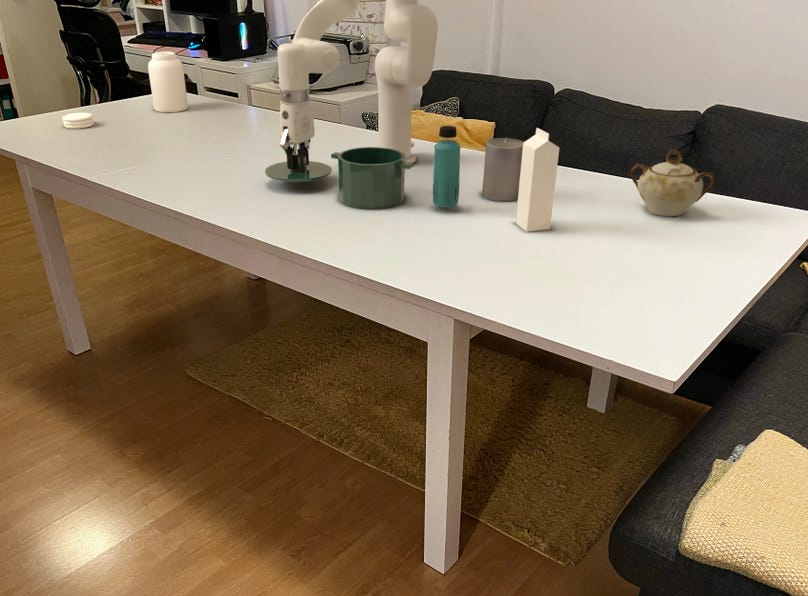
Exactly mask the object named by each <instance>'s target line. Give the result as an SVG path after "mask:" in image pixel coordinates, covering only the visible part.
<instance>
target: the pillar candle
mask: <svg viewBox="0 0 808 596" xmlns="http://www.w3.org/2000/svg"><path fill="white" fill-rule="evenodd" d="M524 142H525V141H523V140H520V139H516V138H510V137H507V136H506V137H496V138H490V139H487V141H486V142H485V149H484V150H485V153H484V165H483V177H482V193H481V195H482V197H483V198H485V199H487V200H490V201H495V202H499V201H500V202H502V201H503V202H511V201H515V200H518V194H519V183H520V172H521V161H522V151H523V143H524Z"/></svg>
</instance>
